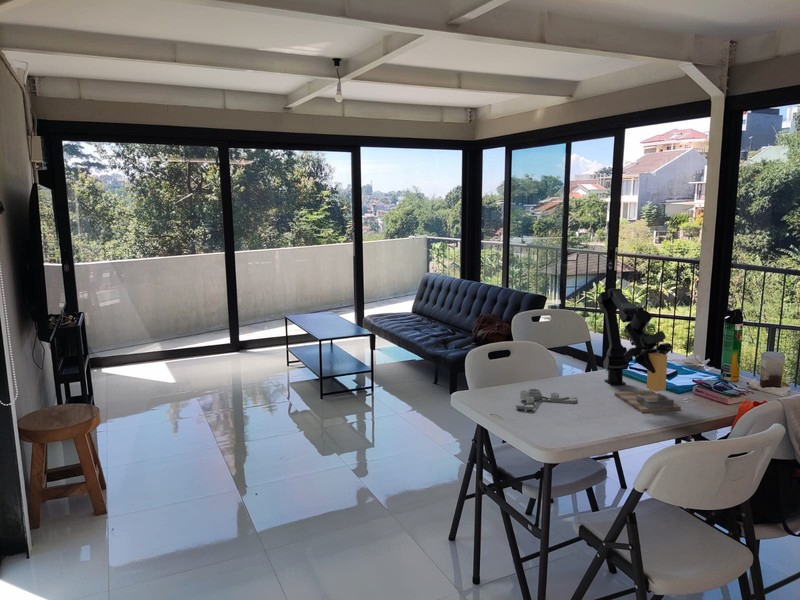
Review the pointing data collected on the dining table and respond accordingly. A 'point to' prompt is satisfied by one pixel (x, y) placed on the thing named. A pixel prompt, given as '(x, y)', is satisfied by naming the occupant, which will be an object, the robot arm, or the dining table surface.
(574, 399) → the pulley system
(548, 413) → the dining table surface
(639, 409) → the keeper
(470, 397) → the dining table surface
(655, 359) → the block
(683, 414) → the dining table surface
